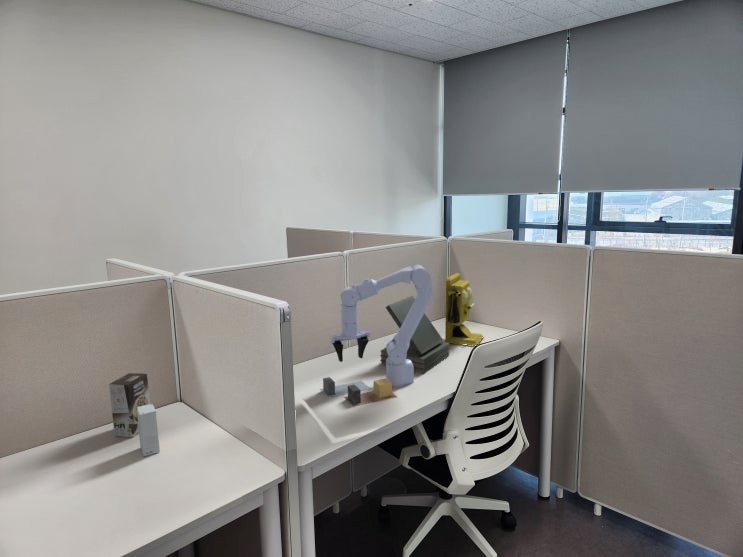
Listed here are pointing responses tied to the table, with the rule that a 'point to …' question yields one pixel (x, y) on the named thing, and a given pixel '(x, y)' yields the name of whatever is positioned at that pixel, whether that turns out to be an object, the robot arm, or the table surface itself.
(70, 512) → the table surface
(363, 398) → the walnut strip
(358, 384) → the grey strip
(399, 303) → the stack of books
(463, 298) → the vintage telephone
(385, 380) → the ochre block
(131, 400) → the coffee box
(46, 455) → the table surface
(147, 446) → the skincare box
